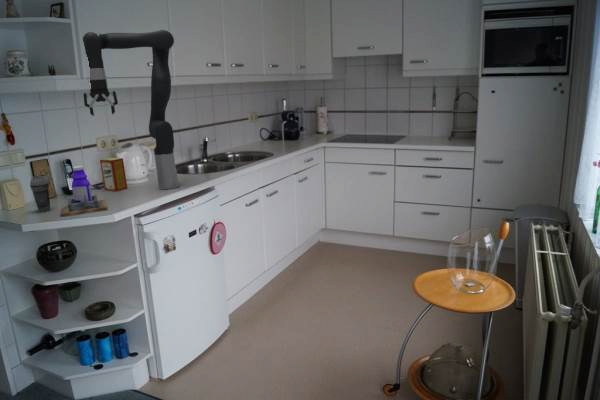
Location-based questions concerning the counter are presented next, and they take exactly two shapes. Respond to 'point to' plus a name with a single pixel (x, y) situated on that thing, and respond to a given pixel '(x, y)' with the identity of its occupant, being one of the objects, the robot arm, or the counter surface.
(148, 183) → the counter surface
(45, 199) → the beverage cup
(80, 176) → the bottle
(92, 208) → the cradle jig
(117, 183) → the baking soda box
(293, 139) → the counter surface
